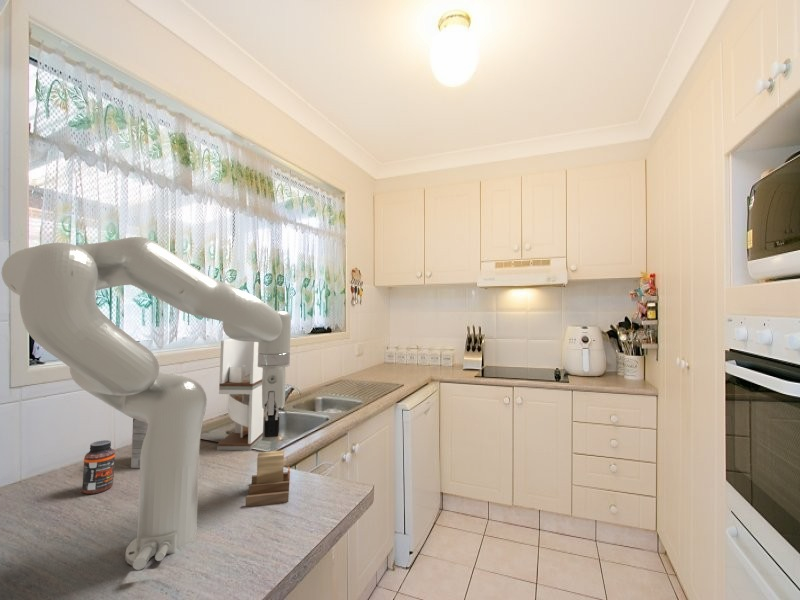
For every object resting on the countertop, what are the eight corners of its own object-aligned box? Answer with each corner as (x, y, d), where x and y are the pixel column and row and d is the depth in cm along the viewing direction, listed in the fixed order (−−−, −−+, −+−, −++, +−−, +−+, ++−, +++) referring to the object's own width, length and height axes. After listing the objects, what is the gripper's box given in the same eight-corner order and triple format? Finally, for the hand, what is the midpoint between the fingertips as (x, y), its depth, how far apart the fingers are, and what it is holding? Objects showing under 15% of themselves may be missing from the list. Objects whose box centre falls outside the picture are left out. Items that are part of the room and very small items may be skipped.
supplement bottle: (95, 496, 86) (97, 447, 87) (75, 493, 88) (77, 445, 88) (119, 485, 92) (121, 439, 93) (100, 482, 93) (102, 437, 94)
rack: (288, 508, 82) (288, 483, 83) (245, 513, 80) (246, 488, 80) (289, 485, 93) (290, 463, 94) (251, 489, 91) (252, 467, 91)
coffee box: (148, 455, 111) (151, 402, 112) (171, 455, 112) (173, 402, 112) (129, 468, 102) (132, 410, 103) (153, 467, 103) (156, 410, 103)
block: (282, 488, 89) (283, 455, 89) (256, 491, 87) (257, 457, 87) (283, 483, 91) (283, 450, 92) (257, 485, 90) (258, 452, 90)
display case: (232, 438, 128) (235, 338, 130) (262, 438, 129) (265, 338, 130) (217, 450, 117) (220, 340, 118) (250, 450, 117) (254, 340, 119)
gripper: (288, 363, 84) (286, 445, 83) (290, 356, 99) (288, 425, 98) (254, 364, 82) (251, 447, 81) (261, 356, 97) (258, 426, 96)
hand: (271, 434), depth 90 cm, fingers closed
